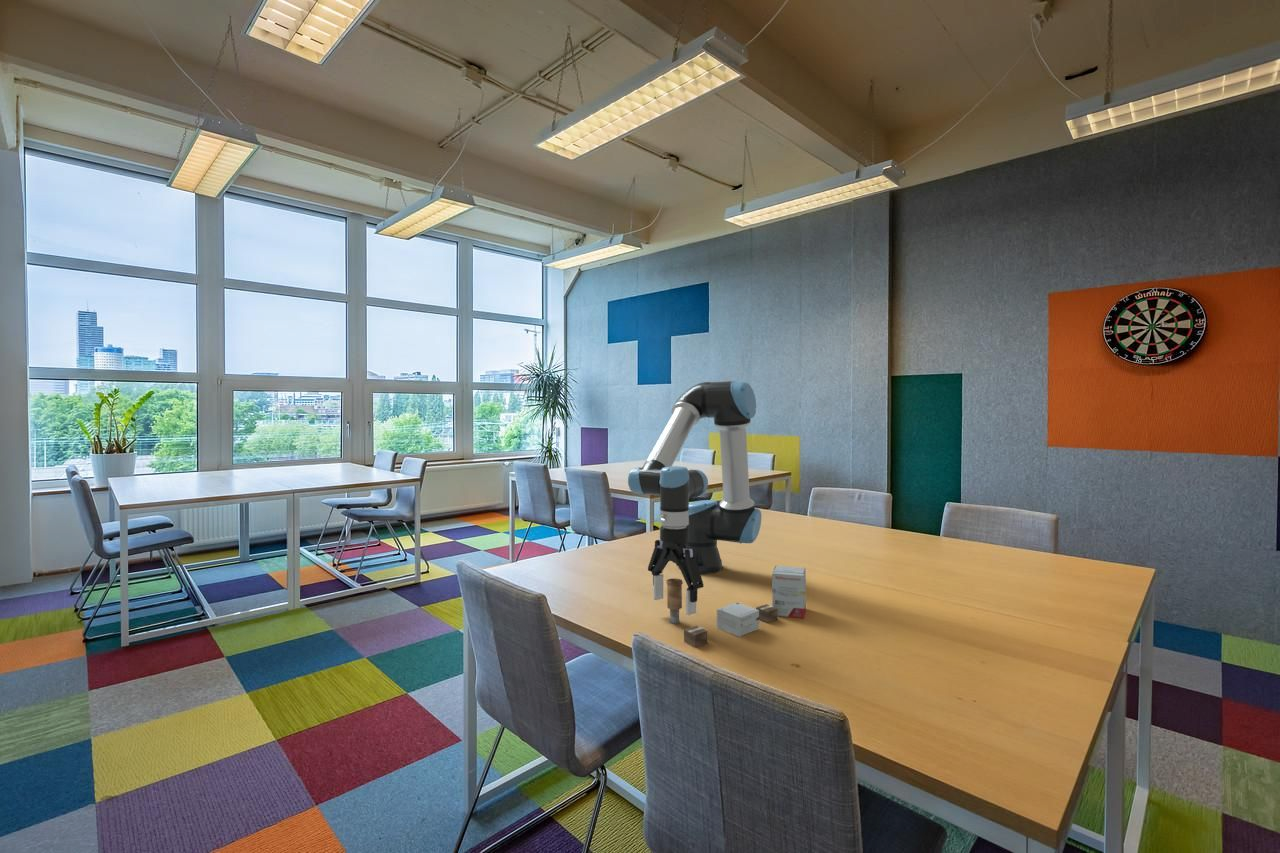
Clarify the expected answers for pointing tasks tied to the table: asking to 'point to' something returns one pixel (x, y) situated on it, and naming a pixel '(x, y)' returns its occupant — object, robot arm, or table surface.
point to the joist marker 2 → (767, 613)
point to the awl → (674, 598)
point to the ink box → (789, 591)
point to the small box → (738, 619)
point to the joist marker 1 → (695, 636)
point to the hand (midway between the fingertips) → (674, 606)
